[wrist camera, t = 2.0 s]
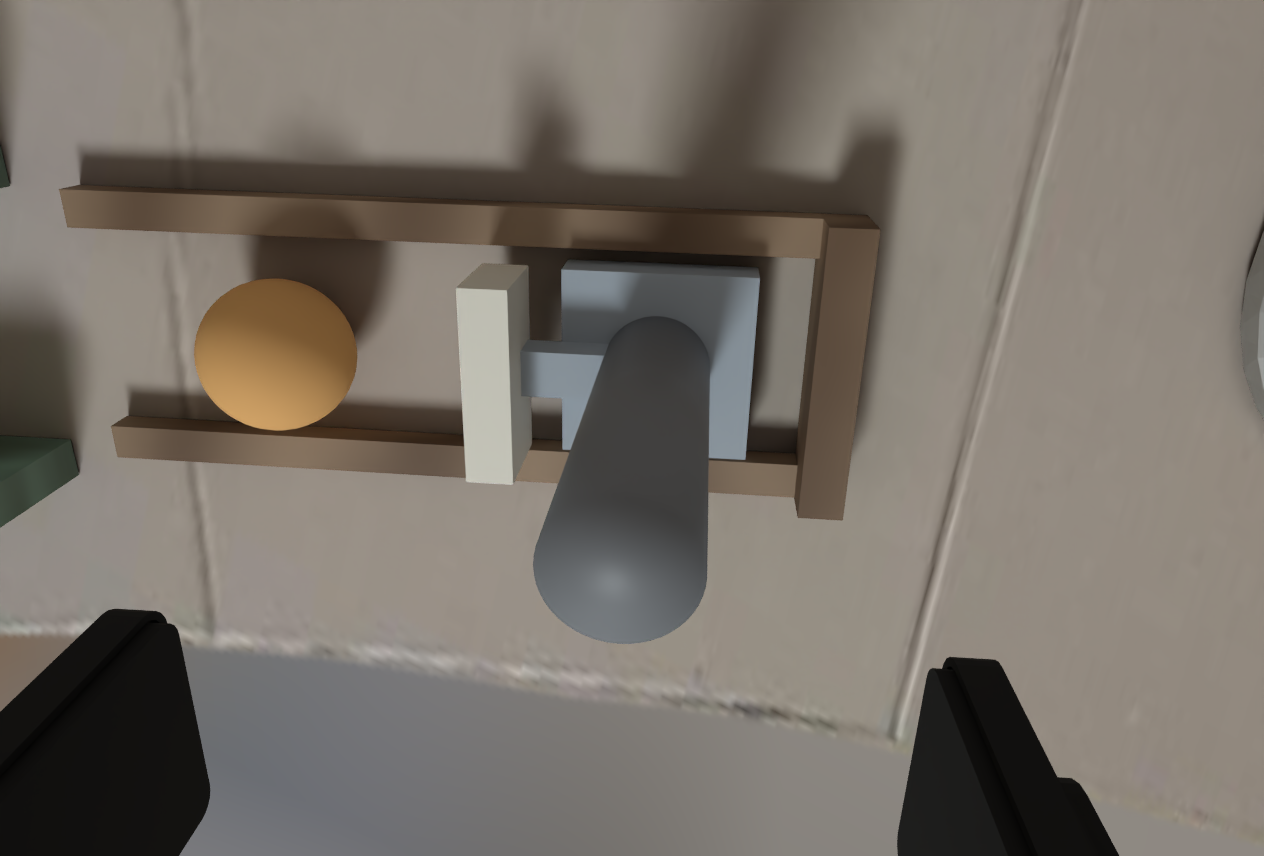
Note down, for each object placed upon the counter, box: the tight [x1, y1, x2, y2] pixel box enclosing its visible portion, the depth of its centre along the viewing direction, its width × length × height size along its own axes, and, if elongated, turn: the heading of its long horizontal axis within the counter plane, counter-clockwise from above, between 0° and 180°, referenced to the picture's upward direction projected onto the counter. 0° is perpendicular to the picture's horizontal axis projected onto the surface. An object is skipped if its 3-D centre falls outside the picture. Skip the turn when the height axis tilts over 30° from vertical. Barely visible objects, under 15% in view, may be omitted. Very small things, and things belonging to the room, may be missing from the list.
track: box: [59, 185, 881, 520], centre depth 24 cm, size 21×8×2 cm, turn 89°
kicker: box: [456, 259, 760, 644], centre depth 20 cm, size 7×5×11 cm
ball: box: [194, 278, 357, 430], centre depth 24 cm, size 4×4×4 cm
